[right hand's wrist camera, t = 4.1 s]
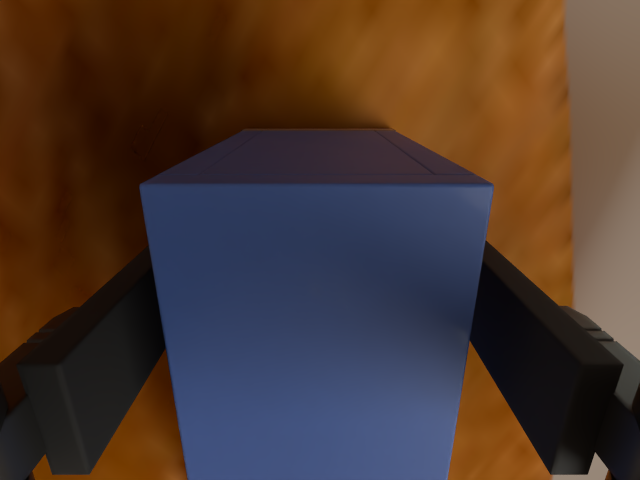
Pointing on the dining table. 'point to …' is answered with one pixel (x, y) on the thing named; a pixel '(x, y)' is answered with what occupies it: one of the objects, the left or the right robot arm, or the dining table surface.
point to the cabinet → (317, 302)
